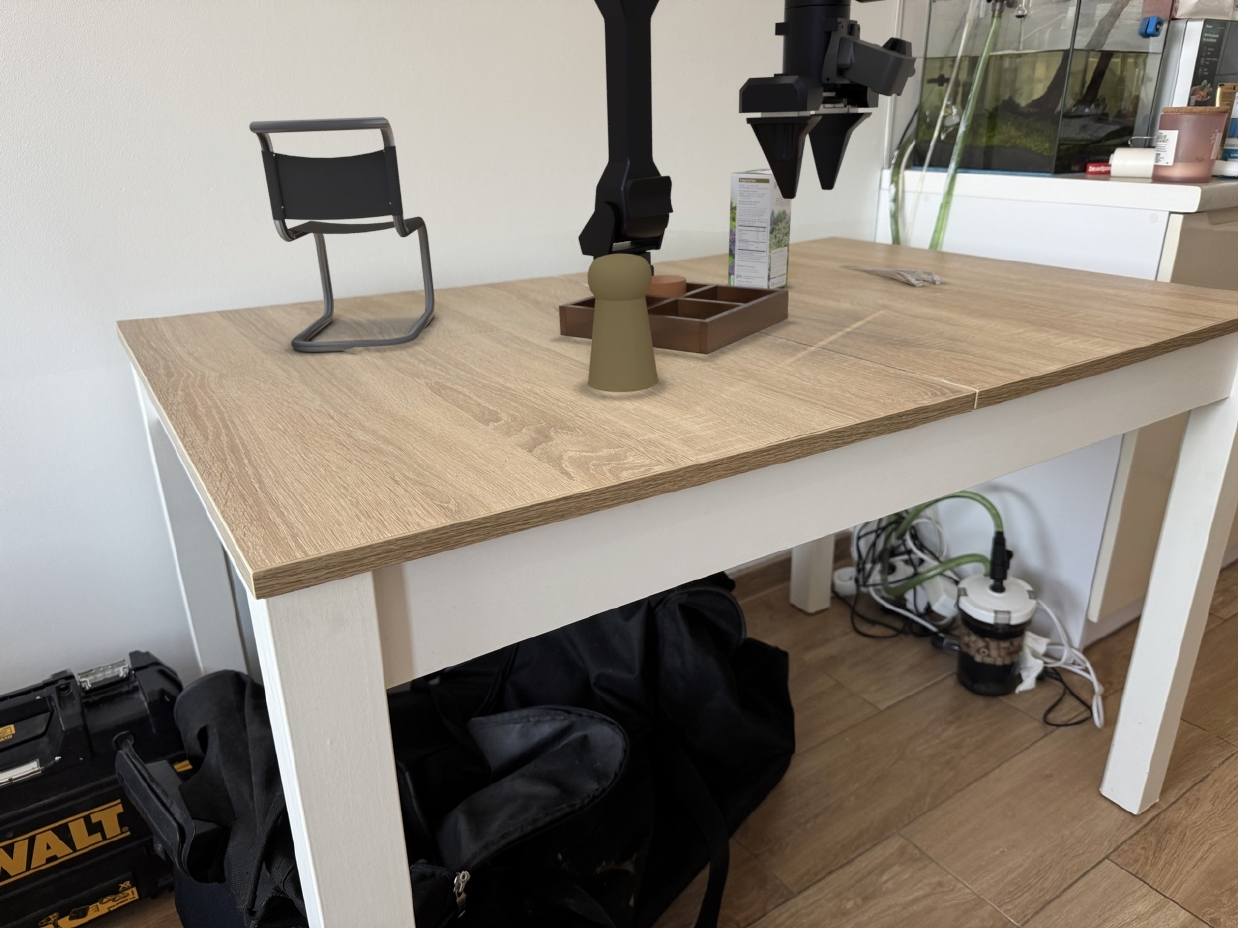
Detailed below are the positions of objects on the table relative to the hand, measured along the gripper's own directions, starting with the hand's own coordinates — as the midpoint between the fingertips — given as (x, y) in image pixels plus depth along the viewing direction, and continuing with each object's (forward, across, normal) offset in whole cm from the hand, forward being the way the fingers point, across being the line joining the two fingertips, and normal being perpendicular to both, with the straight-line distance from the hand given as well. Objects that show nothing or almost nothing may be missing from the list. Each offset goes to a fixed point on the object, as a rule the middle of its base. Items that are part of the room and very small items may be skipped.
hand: (809, 194), depth 85 cm
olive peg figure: (+14, -22, +7) cm, 27 cm away
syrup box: (+14, +23, +16) cm, 31 cm away
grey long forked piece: (+15, +39, +4) cm, 42 cm away
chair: (+14, -17, +44) cm, 49 cm away
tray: (+14, -2, +13) cm, 19 cm away
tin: (+14, +2, +17) cm, 22 cm away
